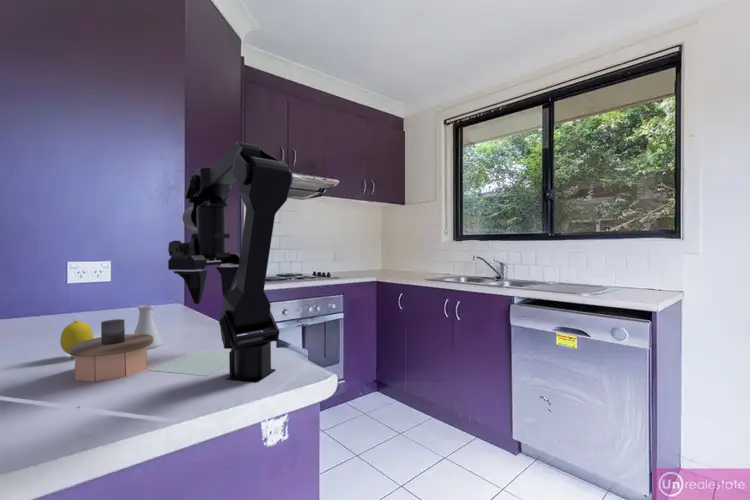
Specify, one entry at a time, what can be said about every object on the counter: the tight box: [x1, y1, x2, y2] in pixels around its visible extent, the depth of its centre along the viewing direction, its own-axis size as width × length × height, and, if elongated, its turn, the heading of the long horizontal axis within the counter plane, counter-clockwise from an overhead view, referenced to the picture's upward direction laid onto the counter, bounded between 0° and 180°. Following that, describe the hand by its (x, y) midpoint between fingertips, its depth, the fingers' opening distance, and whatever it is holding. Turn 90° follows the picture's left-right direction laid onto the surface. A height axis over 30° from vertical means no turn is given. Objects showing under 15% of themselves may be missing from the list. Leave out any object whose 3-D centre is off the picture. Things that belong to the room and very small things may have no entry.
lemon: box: [59, 320, 94, 355], centre depth 80 cm, size 6×6×8 cm
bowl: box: [74, 347, 148, 382], centre depth 70 cm, size 11×11×5 cm
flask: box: [133, 304, 165, 351], centre depth 86 cm, size 7×7×10 cm
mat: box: [148, 350, 229, 377], centre depth 74 cm, size 13×13×1 cm
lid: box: [68, 318, 153, 357], centre depth 70 cm, size 13×13×5 cm
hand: (212, 300), depth 81 cm, fingers open, 9 cm apart
